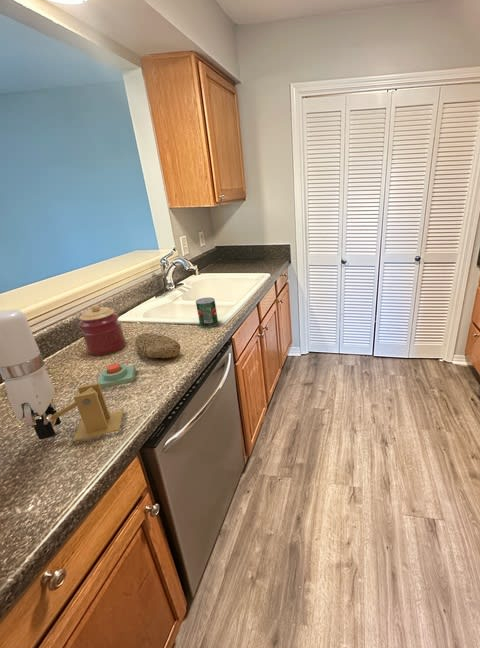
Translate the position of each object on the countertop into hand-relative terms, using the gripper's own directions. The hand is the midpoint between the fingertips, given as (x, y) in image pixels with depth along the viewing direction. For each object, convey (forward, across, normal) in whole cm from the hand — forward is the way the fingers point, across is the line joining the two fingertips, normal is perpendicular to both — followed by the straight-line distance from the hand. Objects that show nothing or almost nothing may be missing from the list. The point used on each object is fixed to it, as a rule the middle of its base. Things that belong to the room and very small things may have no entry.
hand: (50, 430), depth 78 cm
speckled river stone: (+3, -37, +23) cm, 44 cm away
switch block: (+3, -23, +11) cm, 26 cm away
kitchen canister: (+3, -51, +4) cm, 51 cm away
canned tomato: (+3, -57, +43) cm, 72 cm away
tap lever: (-3, 0, +6) cm, 6 cm away
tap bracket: (+3, 0, +10) cm, 10 cm away
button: (-1, -23, +11) cm, 26 cm away
